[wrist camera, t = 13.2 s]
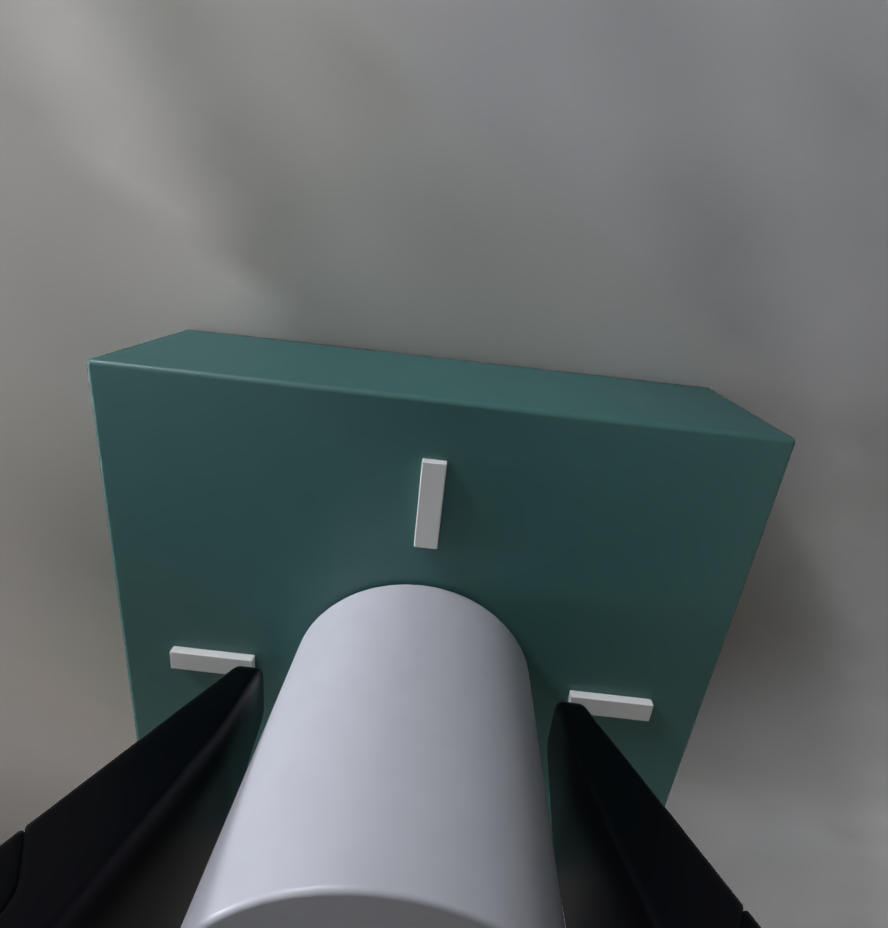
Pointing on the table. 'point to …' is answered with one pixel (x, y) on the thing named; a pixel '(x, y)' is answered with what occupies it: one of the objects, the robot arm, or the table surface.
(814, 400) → the table surface
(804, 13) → the table surface
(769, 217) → the table surface
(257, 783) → the white dial knob
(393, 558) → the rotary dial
